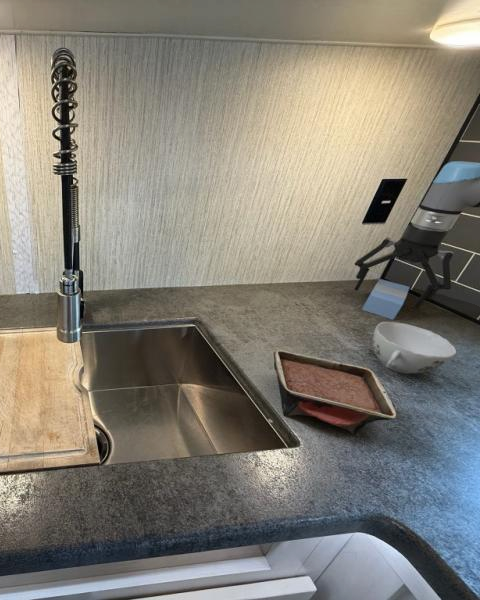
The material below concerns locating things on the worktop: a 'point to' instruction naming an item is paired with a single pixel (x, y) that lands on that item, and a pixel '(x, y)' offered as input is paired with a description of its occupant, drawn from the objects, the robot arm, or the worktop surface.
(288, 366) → the baking dish
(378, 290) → the tea packet
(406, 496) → the worktop surface
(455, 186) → the robot arm
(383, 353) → the teacup
